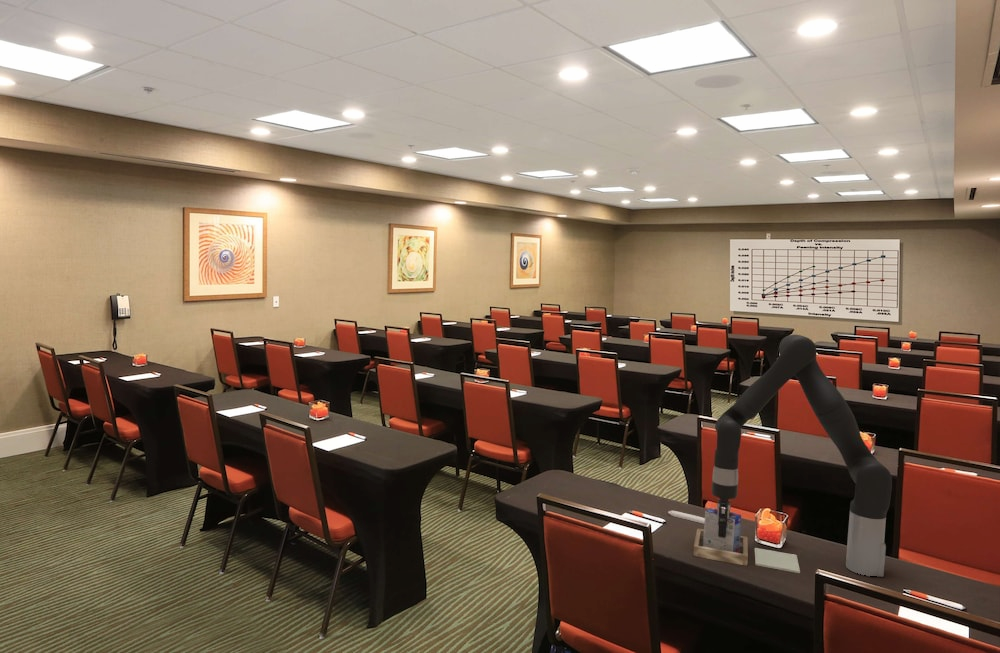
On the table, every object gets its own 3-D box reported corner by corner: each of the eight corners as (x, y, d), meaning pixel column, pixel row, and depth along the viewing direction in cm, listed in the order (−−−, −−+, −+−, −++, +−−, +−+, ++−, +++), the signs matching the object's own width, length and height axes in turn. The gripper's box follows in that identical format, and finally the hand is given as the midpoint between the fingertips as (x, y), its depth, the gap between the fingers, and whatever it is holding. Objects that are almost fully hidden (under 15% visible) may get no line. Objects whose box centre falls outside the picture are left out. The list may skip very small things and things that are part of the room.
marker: (666, 515, 221) (667, 509, 220) (668, 514, 222) (669, 507, 222) (717, 528, 210) (717, 521, 210) (719, 526, 212) (719, 520, 212)
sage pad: (796, 556, 189) (796, 555, 189) (799, 573, 178) (800, 571, 178) (754, 549, 193) (754, 547, 193) (755, 565, 182) (755, 563, 182)
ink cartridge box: (740, 552, 190) (742, 507, 189) (733, 558, 186) (736, 512, 185) (709, 543, 196) (711, 499, 195) (702, 548, 192) (704, 503, 191)
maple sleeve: (746, 546, 196) (747, 537, 195) (747, 565, 181) (747, 556, 181) (696, 537, 201) (697, 528, 201) (693, 555, 187) (693, 546, 187)
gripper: (737, 489, 182) (734, 543, 183) (738, 476, 195) (735, 526, 196) (711, 485, 184) (708, 539, 186) (713, 472, 198) (710, 522, 199)
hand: (722, 532), depth 191 cm, fingers closed on ink cartridge box, 6 cm apart
